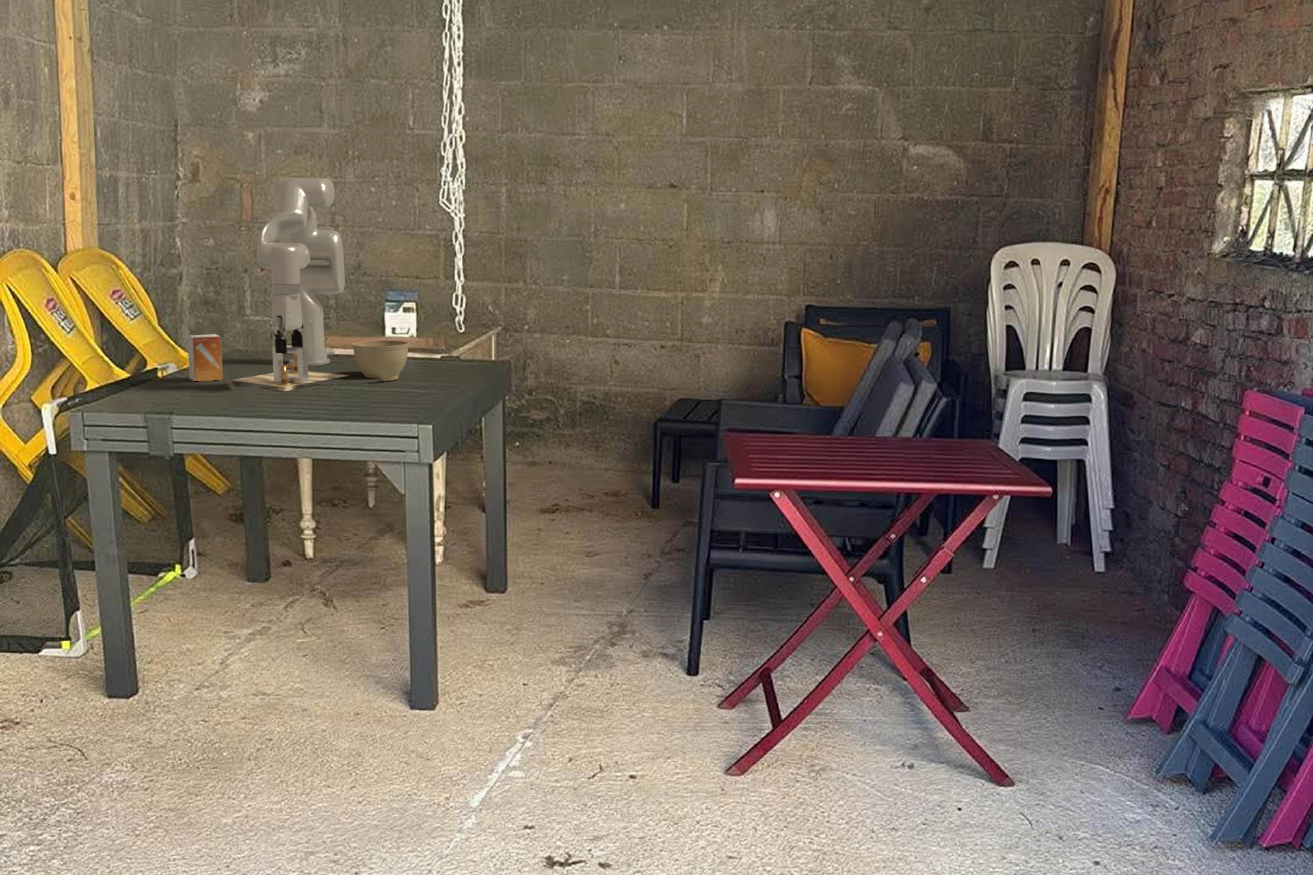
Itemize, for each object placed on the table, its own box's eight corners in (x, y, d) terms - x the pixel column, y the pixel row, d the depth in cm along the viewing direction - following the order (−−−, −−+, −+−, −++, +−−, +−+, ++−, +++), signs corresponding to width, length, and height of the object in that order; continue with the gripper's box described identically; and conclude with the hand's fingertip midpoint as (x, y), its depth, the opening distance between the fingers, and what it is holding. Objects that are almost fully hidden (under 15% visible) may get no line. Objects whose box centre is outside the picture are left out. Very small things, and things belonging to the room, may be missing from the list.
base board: (294, 373, 387) (294, 369, 387) (349, 379, 377) (349, 375, 376) (227, 384, 365) (227, 380, 364) (284, 391, 354) (284, 386, 354)
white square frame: (278, 381, 364) (277, 346, 362) (308, 382, 363) (306, 347, 361) (273, 382, 361) (272, 347, 359) (303, 383, 360) (302, 348, 358)
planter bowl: (405, 374, 387) (404, 339, 385) (413, 382, 372) (412, 345, 370) (351, 376, 382) (349, 340, 380) (356, 384, 367) (355, 347, 365)
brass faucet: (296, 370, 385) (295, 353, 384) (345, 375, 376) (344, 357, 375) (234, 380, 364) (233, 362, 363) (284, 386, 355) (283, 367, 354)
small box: (194, 382, 368) (192, 337, 366) (189, 379, 373) (186, 335, 371) (223, 380, 373) (221, 335, 370) (217, 377, 378) (215, 333, 375)
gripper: (288, 286, 366) (291, 346, 370) (259, 292, 349) (262, 354, 353) (312, 287, 365) (315, 347, 368) (284, 293, 348) (287, 355, 352)
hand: (289, 350), depth 361 cm, fingers open, 9 cm apart
